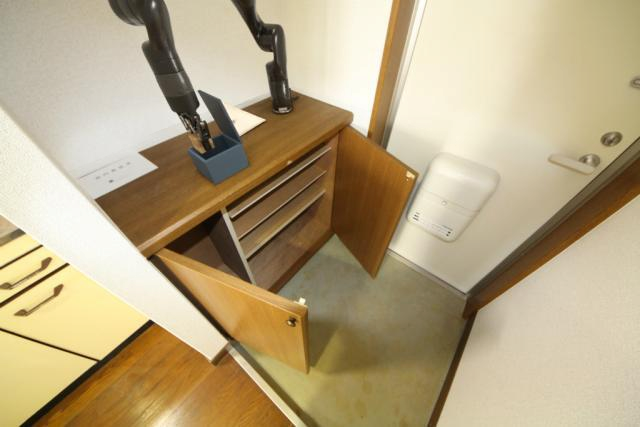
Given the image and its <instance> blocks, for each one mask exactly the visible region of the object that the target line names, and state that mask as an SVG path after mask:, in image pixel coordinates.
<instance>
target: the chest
mask: <svg viewBox="0 0 640 427" xmlns="http://www.w3.org/2000/svg"><path fill="white" fill-rule="evenodd" d="M211 139H212V142H213V144H214V146H215V148H213V149H211V150H209V151H206V152H204V153H200V152H199V151H198V150H196V149H195V148H194V146H193V145H192V146H189V147H187V148H186V149H185V150H186V151H187V153H188V155H189V157H190V159H191V160H192V162H193V165H194V166H195V168H196V170H197V172H199V173H200V174H201V175H203V176H204V177H205V178H207V179H208V180H209V181H210V182H212V183H213V184H214V185H216V186H217V185H218V184H219V183H221V182H223V181H225V180H227V179H228V178H230V177H231V176H232V177H233V175H235V174H237V173H238V172H240V171H242V170H244V169H246V168H248V167H249V166H250V164H249V160H248V158H247V155H246V151H245V148H244V146H243V142H242V143H240V142H238V141H236V140H235V139H233V138H231V137H229V136H228V135H226V134H224V133H222V132H221V133H219V134H217V135H214V136H211Z"/></svg>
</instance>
